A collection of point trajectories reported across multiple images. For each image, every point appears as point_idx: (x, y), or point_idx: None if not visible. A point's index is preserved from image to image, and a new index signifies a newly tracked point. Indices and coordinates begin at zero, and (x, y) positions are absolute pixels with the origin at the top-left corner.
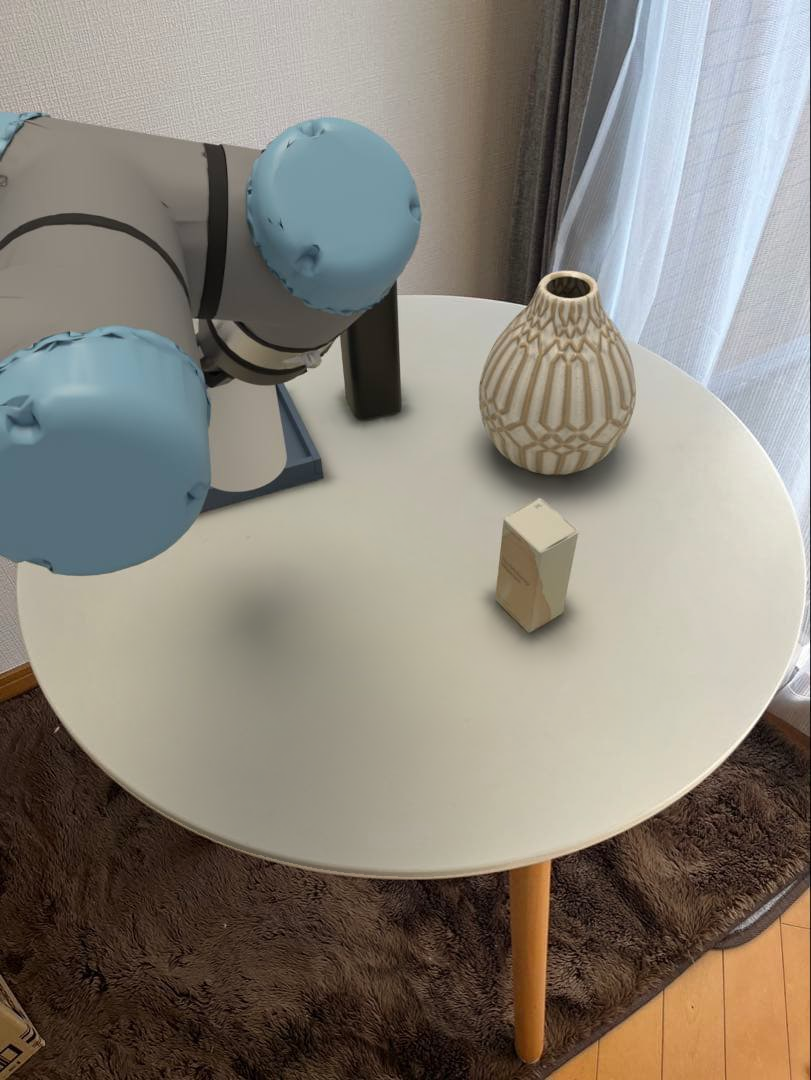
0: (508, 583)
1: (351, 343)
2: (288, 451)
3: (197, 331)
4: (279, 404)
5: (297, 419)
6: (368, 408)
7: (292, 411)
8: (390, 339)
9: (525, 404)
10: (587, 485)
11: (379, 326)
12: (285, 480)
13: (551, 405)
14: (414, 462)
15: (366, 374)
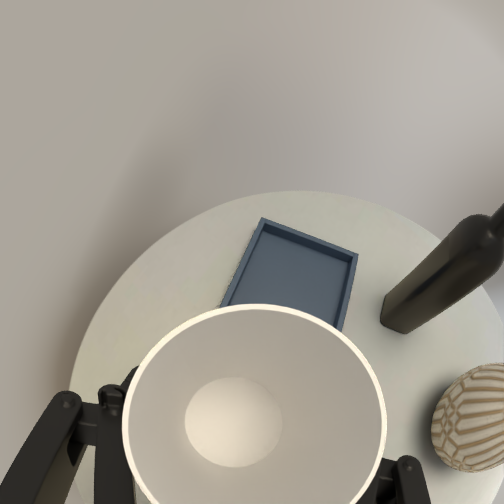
0: None
1: (418, 292)
2: (323, 318)
3: (256, 341)
4: (344, 271)
5: (345, 302)
6: (392, 323)
7: (347, 292)
8: (442, 308)
9: (470, 444)
10: (446, 464)
11: (444, 299)
12: None
13: (479, 456)
14: (387, 385)
15: (409, 311)
